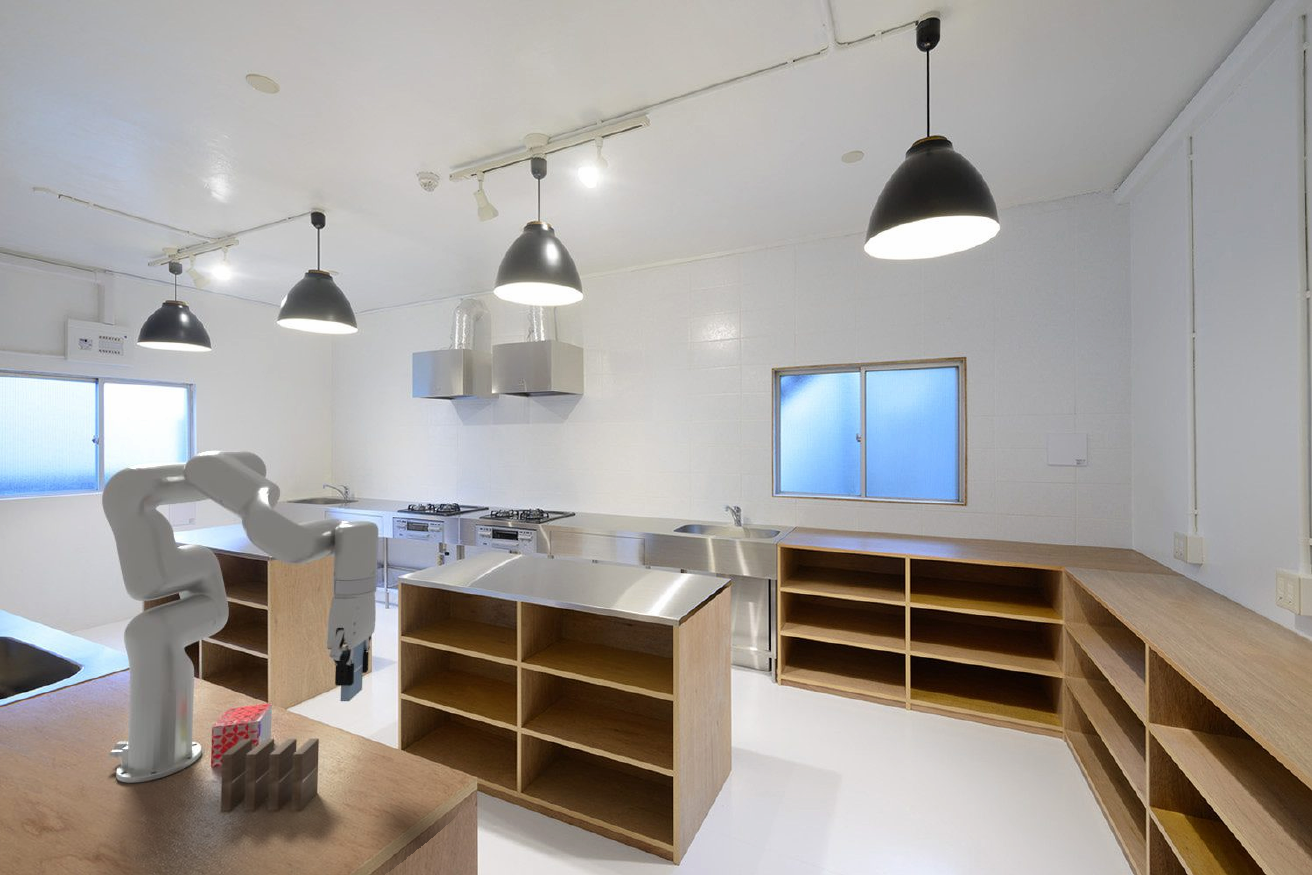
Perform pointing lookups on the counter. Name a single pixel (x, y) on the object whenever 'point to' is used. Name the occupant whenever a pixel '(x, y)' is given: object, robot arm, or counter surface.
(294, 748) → the domino
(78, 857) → the counter surface
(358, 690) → the domino
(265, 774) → the domino
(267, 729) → the red patterned cube
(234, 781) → the domino
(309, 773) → the domino
